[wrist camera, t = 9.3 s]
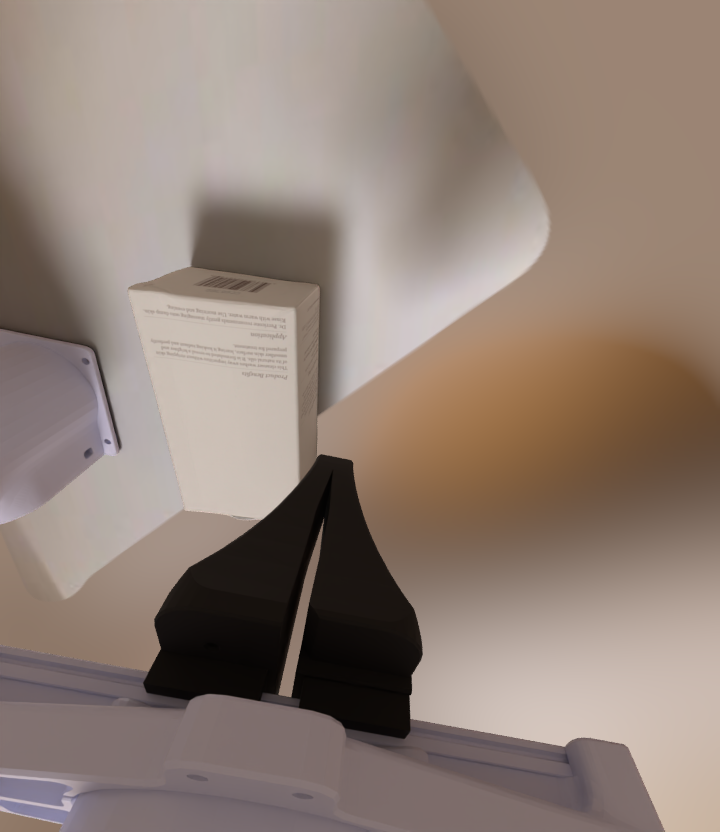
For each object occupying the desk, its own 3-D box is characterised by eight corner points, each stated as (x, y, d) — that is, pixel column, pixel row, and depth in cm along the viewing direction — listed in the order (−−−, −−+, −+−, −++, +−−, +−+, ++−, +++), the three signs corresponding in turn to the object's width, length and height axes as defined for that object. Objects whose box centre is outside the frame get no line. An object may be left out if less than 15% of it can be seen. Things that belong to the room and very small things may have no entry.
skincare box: (188, 263, 20) (217, 456, 28) (116, 284, 15) (177, 513, 23) (328, 283, 20) (317, 471, 28) (304, 310, 14) (299, 531, 22)
